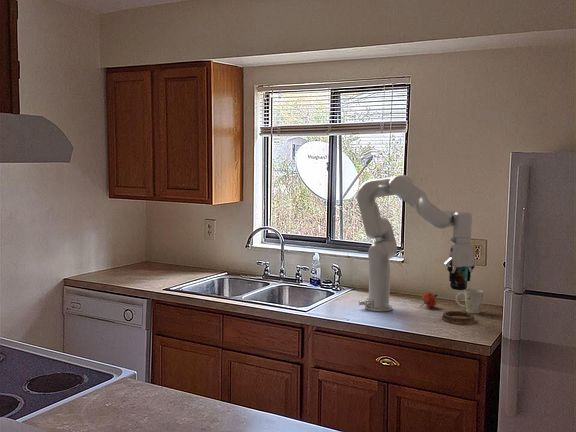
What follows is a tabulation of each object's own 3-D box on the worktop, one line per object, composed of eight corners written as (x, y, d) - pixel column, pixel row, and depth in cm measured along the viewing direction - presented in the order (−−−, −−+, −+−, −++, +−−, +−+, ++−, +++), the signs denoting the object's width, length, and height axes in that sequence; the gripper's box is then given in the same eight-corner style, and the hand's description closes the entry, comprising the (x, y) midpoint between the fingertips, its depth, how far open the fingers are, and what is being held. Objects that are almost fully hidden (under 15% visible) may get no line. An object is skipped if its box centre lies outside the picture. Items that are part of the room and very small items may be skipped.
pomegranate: (422, 313, 296) (440, 302, 293) (413, 300, 298) (431, 289, 294) (425, 311, 303) (443, 301, 299) (417, 298, 304) (434, 287, 301)
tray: (453, 325, 268) (454, 319, 268) (435, 317, 281) (435, 311, 281) (481, 323, 273) (481, 317, 272) (462, 314, 286) (462, 309, 286)
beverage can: (447, 288, 276) (448, 261, 275) (455, 286, 281) (457, 259, 280) (461, 291, 271) (462, 263, 270) (469, 288, 276) (471, 261, 275)
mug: (479, 315, 286) (480, 293, 285) (452, 311, 293) (453, 289, 292) (484, 311, 293) (485, 290, 292) (457, 307, 300) (458, 286, 299)
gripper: (449, 242, 267) (447, 284, 269) (484, 241, 273) (481, 281, 275) (439, 239, 274) (437, 280, 276) (473, 238, 280) (471, 278, 282)
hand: (459, 280), depth 275 cm, fingers closed on beverage can, 7 cm apart
